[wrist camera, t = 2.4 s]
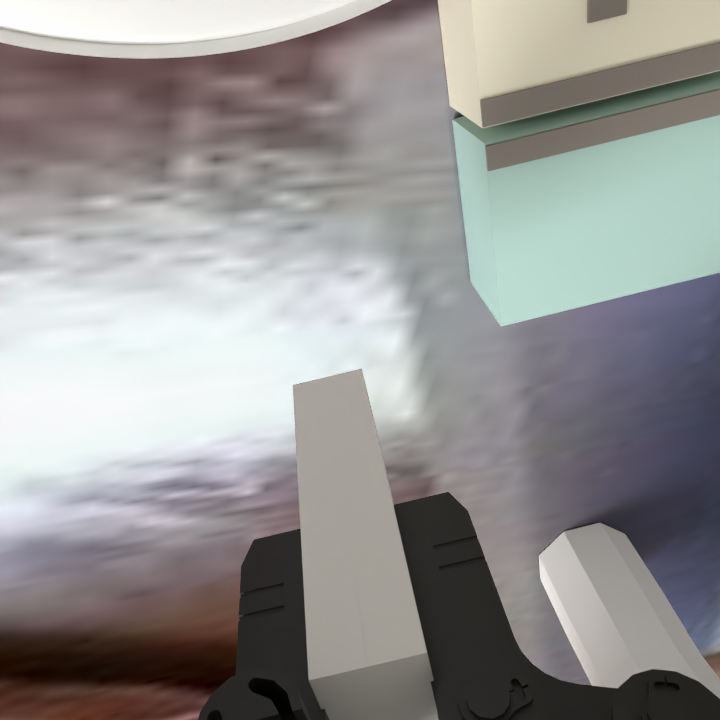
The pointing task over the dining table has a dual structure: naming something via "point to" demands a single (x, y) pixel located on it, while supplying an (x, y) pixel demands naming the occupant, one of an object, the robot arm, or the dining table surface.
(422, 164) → the dining table surface
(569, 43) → the cream slotted block
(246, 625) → the robot arm
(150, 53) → the jar
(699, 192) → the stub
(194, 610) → the dining table surface
